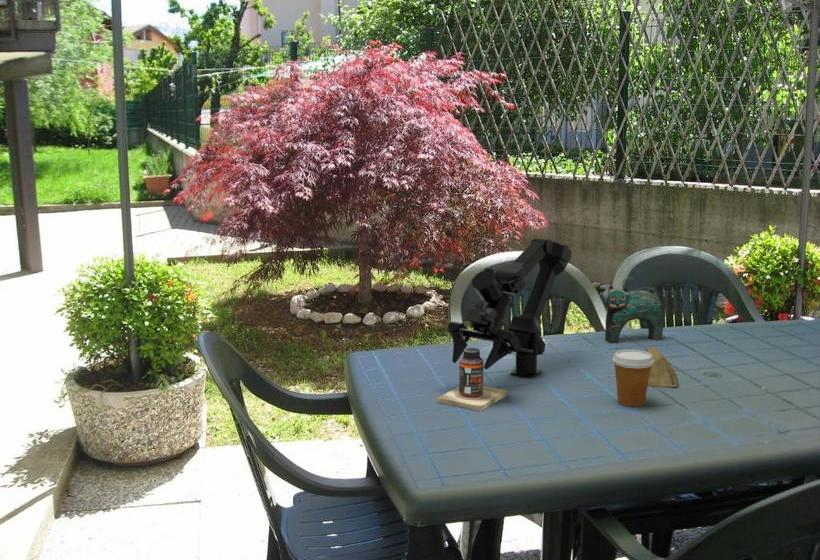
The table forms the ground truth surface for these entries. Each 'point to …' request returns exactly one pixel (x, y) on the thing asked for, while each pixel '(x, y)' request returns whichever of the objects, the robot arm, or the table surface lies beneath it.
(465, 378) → the supplement bottle
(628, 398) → the disposable coffee cup
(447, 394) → the board
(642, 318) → the ceramic cat
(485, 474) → the table surface
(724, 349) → the table surface
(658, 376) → the rock
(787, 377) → the table surface
